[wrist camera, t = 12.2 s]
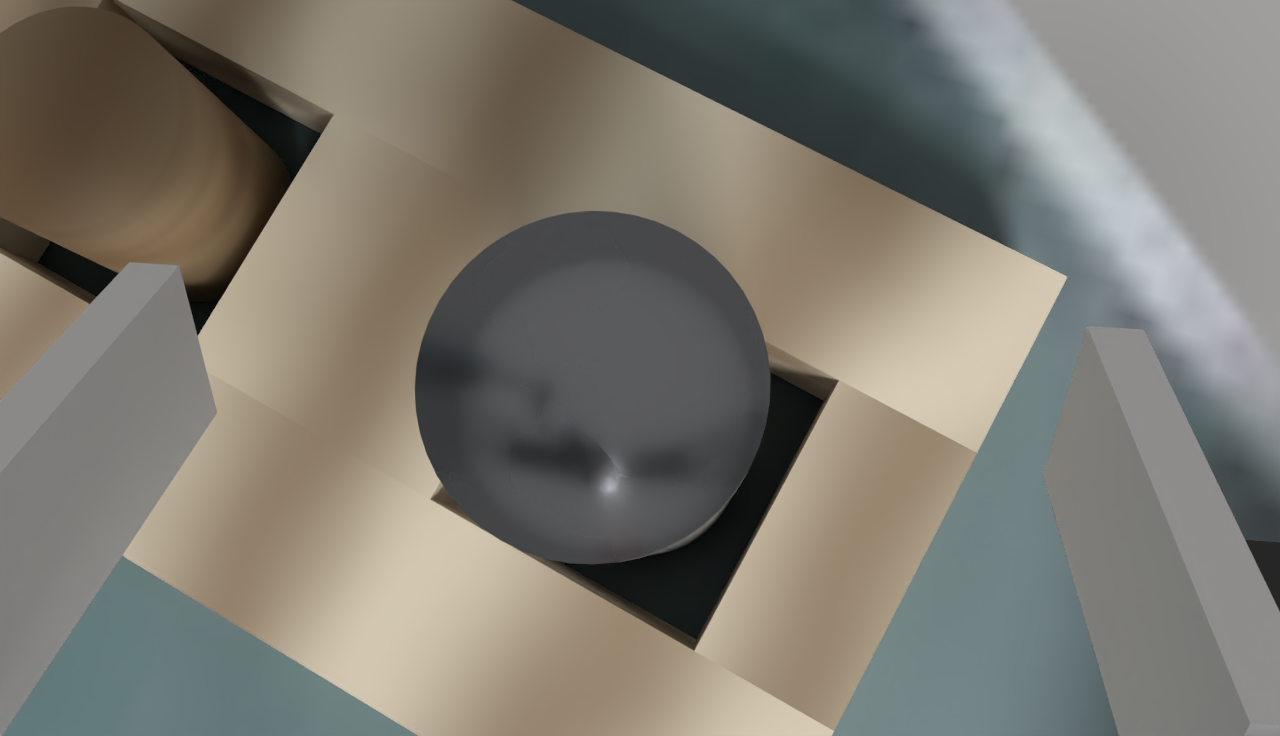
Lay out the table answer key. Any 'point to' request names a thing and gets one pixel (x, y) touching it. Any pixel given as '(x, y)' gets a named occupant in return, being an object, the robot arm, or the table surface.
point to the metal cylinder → (593, 388)
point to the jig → (404, 302)
